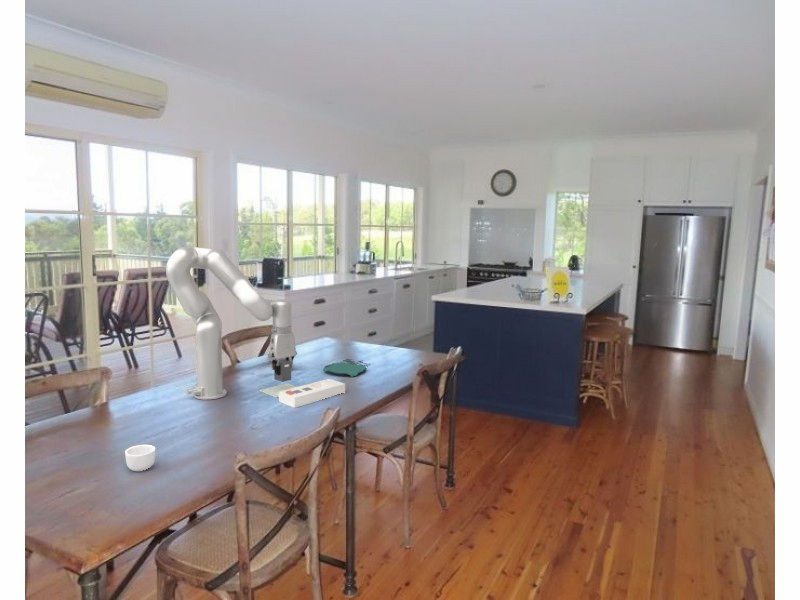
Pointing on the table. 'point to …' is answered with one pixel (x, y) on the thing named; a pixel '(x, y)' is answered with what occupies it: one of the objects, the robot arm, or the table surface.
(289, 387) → the mat
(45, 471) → the table surface
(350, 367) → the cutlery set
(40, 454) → the table surface
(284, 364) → the block
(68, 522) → the table surface
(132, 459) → the teacup
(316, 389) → the power strip
